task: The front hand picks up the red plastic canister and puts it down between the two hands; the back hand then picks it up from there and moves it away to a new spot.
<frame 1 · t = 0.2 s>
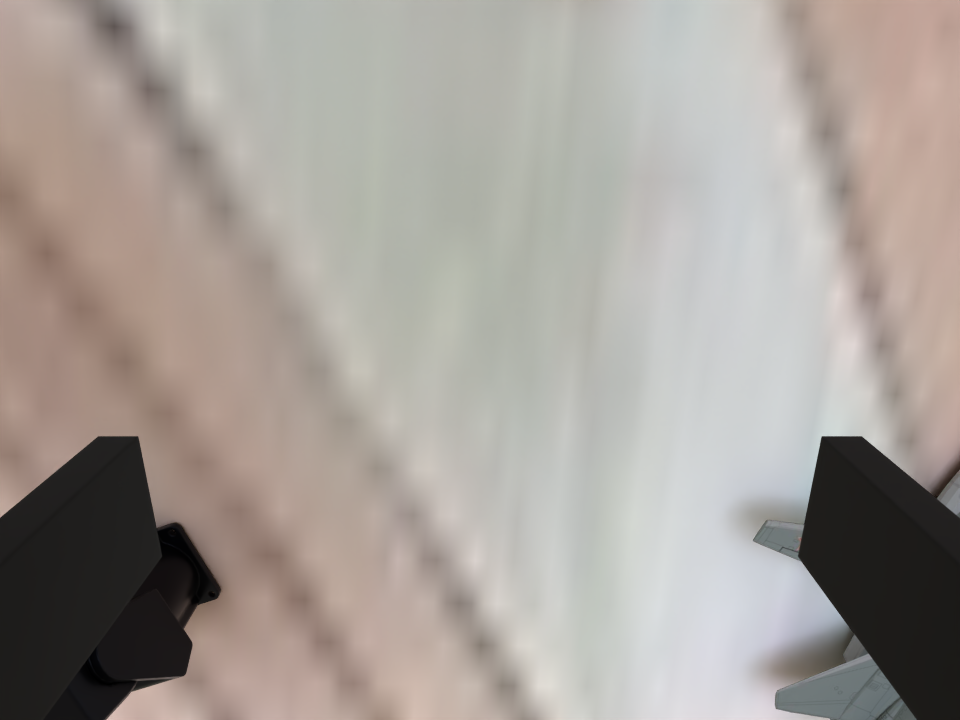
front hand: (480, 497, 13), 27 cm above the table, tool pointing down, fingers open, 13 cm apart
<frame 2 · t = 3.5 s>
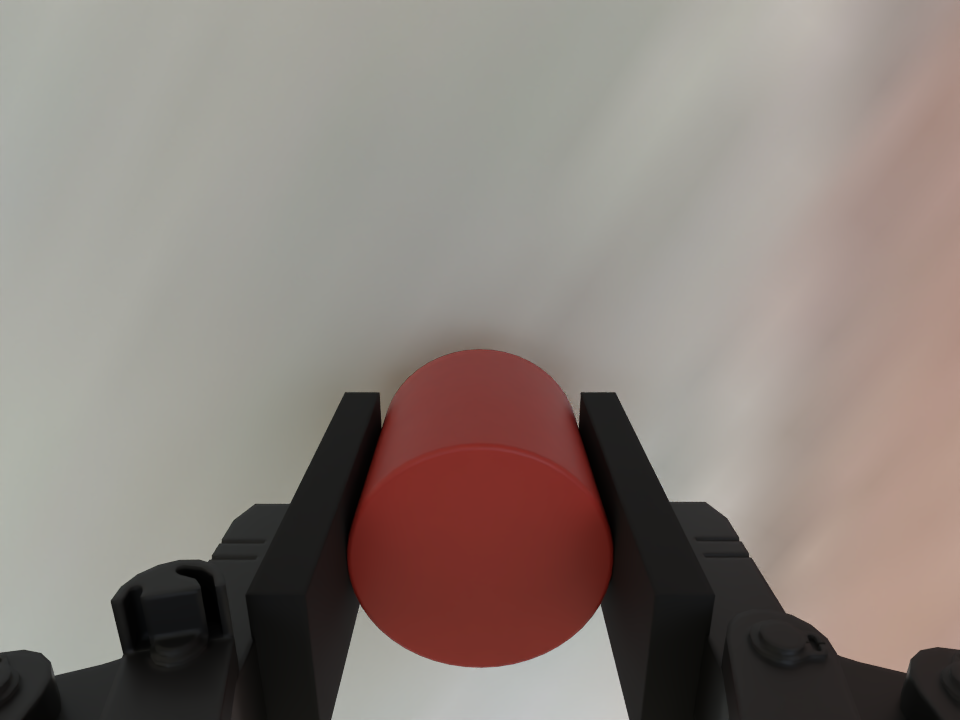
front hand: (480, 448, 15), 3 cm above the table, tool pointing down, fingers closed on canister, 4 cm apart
canister: (480, 439, 15), point 2 cm above the table, touching front hand
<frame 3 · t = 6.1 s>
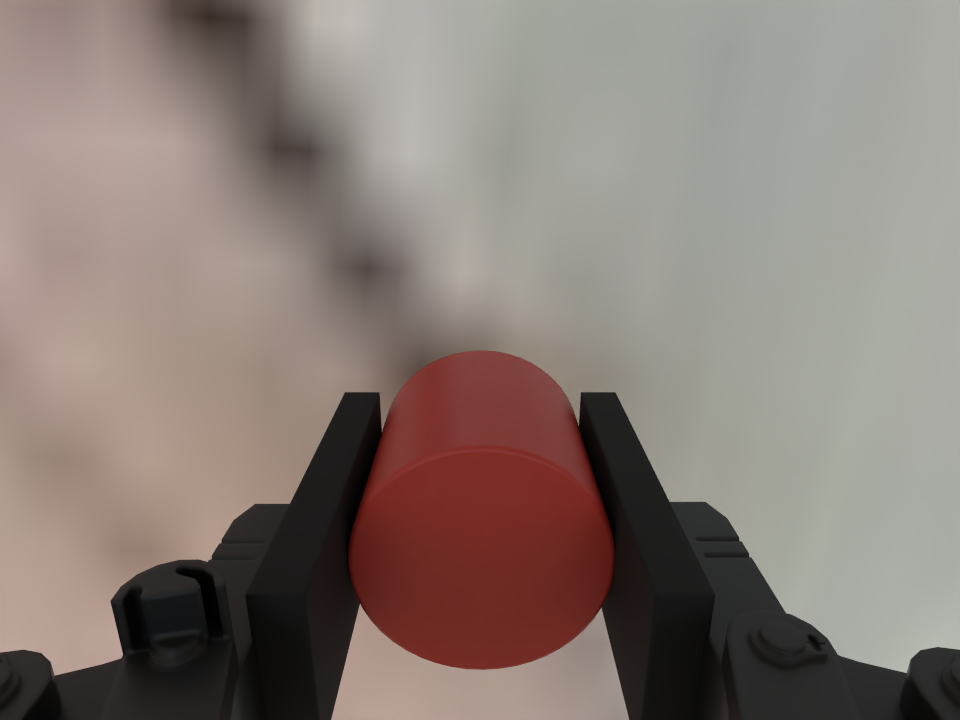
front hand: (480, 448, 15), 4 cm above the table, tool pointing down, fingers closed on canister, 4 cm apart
canister: (481, 440, 15), point 4 cm above the table, touching front hand
when the front hand's fingers open (0 cm above the table, at t = 8.7 s): canister stays where it is, on the table.
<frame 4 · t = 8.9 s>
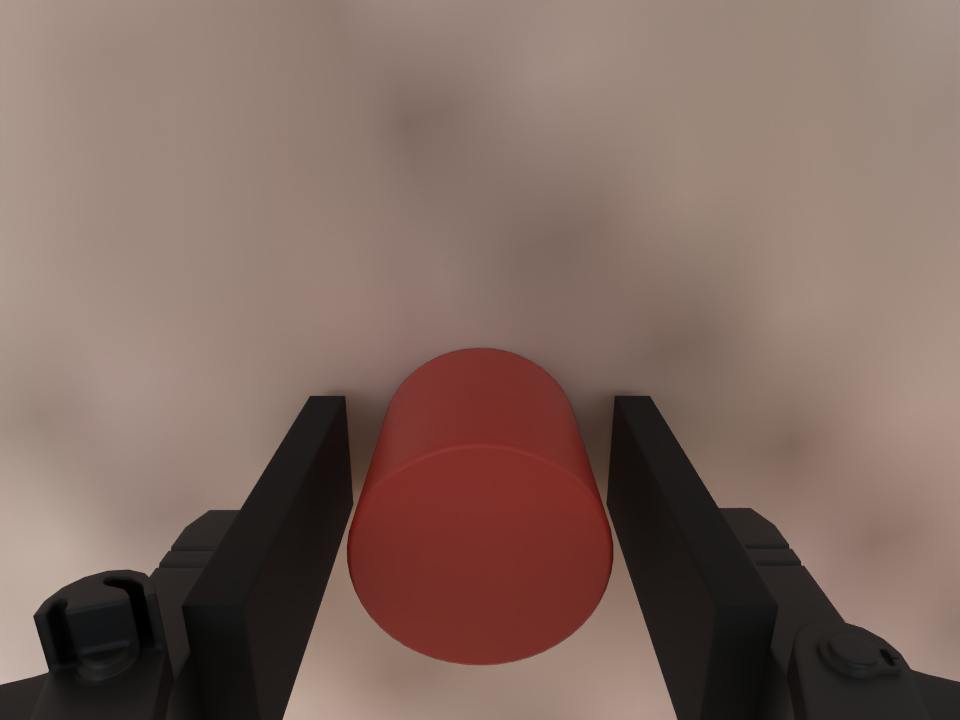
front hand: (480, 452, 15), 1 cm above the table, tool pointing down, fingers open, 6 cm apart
canister: (480, 438, 15), on the table
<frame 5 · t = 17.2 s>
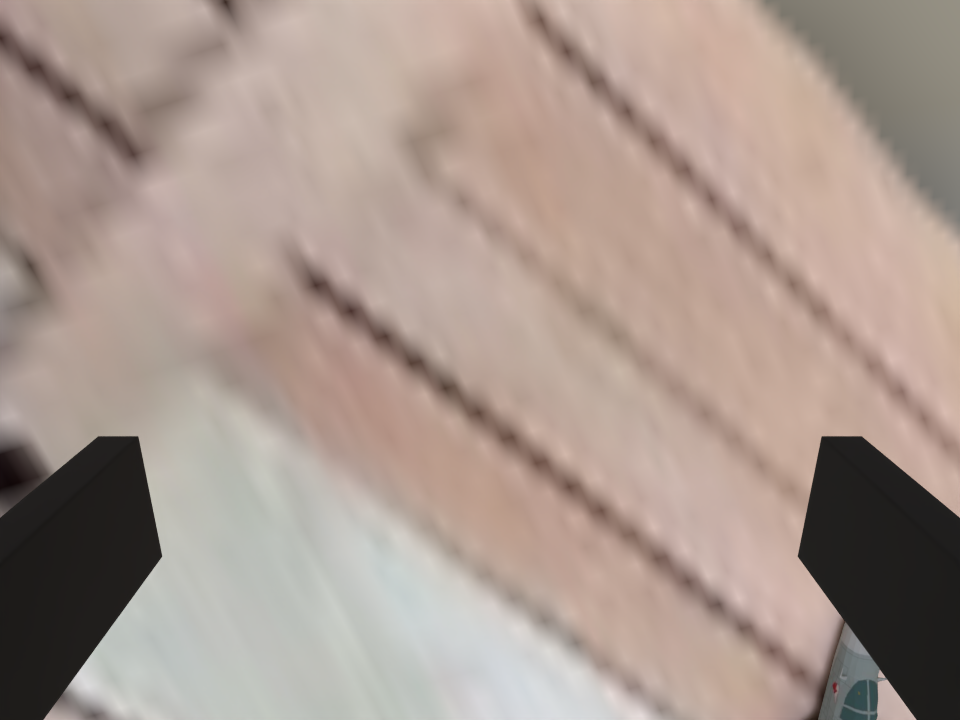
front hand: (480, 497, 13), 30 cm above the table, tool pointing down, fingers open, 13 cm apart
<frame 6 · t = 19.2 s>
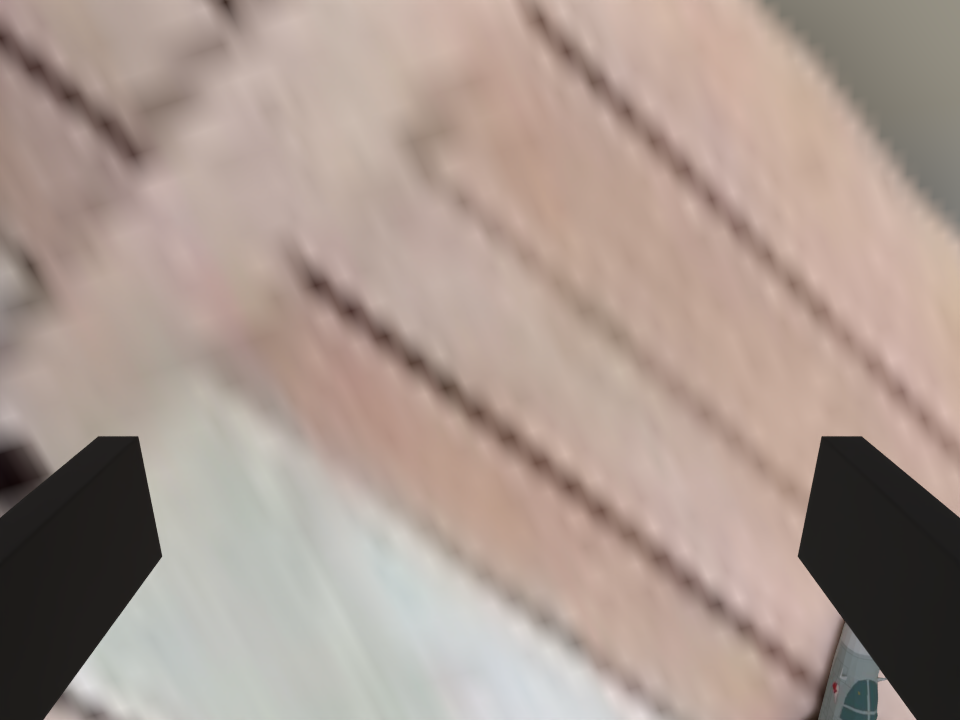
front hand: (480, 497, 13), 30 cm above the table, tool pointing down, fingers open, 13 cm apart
when the back hand's fingers open (2 cm above the table, at t = 21.5 s): canister stays where it is, on the table.
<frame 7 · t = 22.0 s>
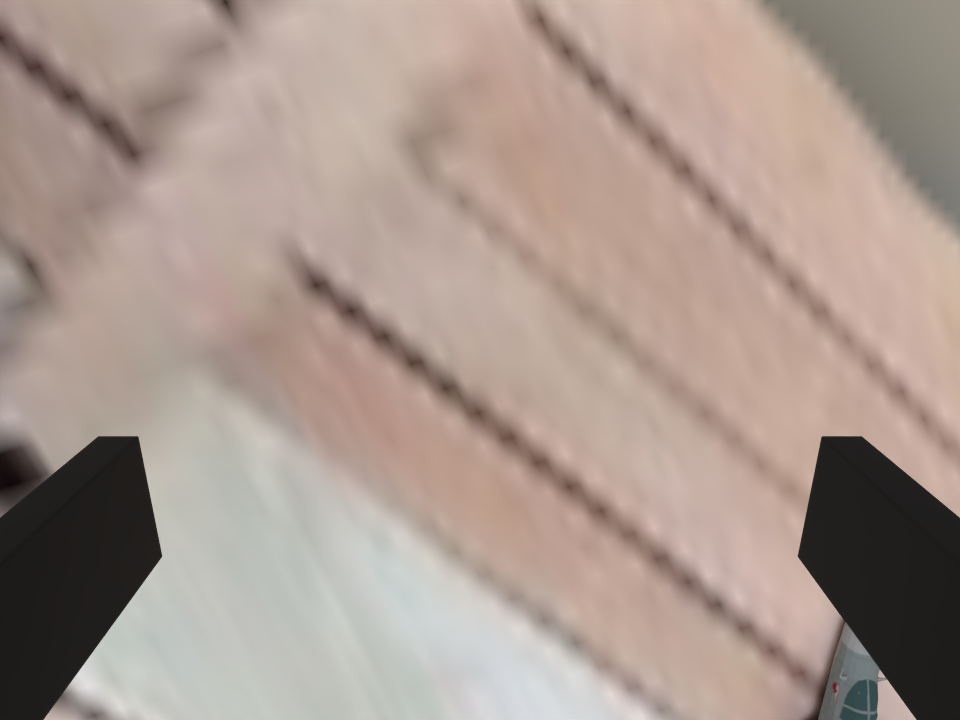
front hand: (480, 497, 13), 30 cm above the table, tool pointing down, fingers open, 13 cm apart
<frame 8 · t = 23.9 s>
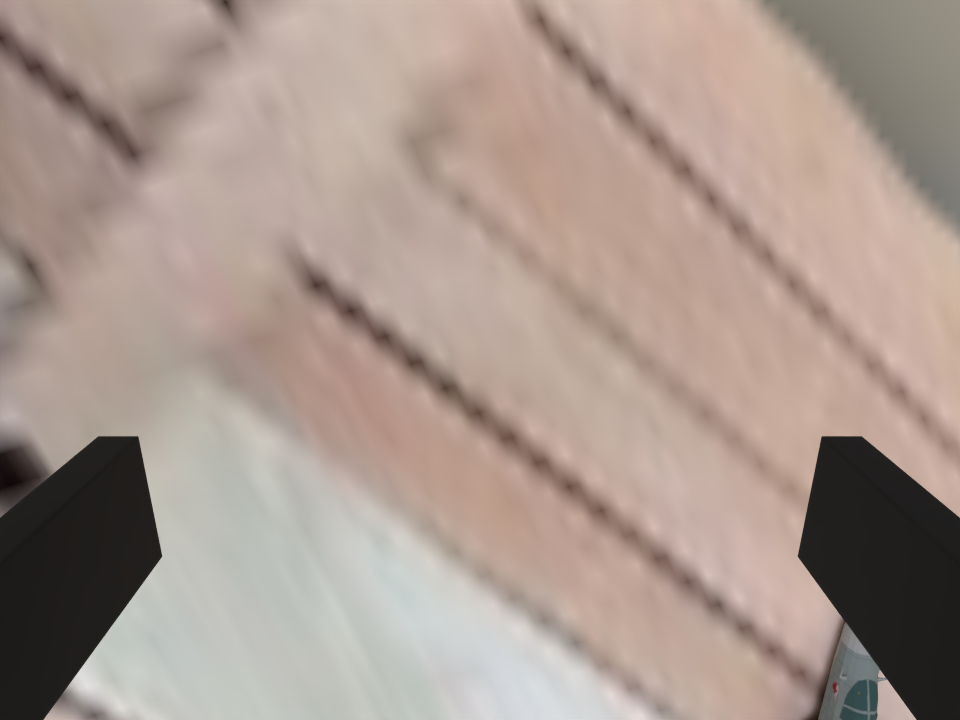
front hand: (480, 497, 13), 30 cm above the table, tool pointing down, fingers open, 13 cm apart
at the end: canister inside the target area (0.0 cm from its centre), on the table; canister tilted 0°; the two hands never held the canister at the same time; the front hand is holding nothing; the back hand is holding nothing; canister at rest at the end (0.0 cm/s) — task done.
